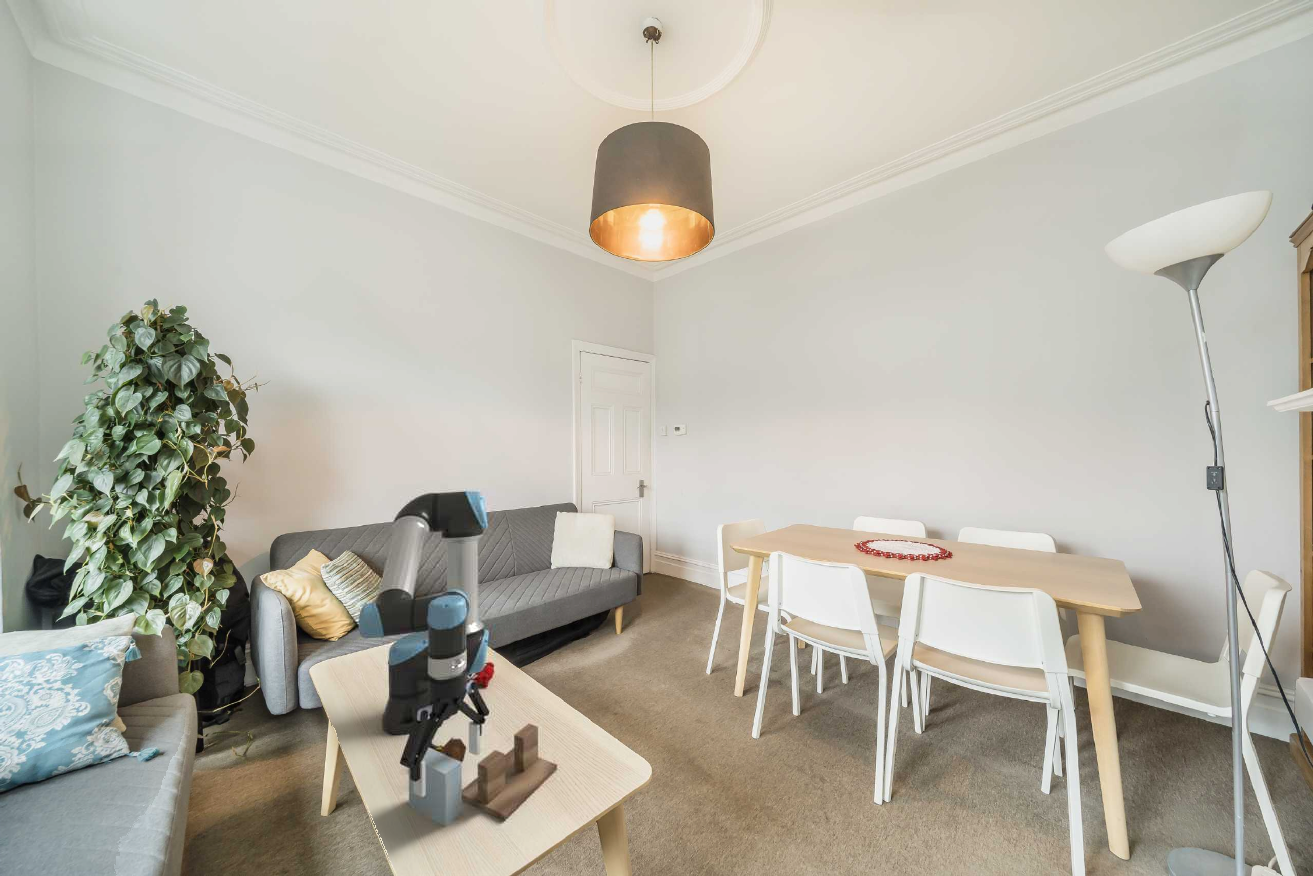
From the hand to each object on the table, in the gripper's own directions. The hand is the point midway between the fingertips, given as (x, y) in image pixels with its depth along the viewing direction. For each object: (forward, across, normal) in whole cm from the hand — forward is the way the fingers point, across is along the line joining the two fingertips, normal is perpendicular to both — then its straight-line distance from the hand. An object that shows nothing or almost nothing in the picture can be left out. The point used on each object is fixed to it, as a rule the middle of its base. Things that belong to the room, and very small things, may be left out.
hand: (448, 772), depth 99 cm
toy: (+10, +11, +17) cm, 23 cm away
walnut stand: (+10, +13, -4) cm, 17 cm away
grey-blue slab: (+10, 0, +5) cm, 11 cm away
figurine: (+9, +42, +40) cm, 59 cm away
